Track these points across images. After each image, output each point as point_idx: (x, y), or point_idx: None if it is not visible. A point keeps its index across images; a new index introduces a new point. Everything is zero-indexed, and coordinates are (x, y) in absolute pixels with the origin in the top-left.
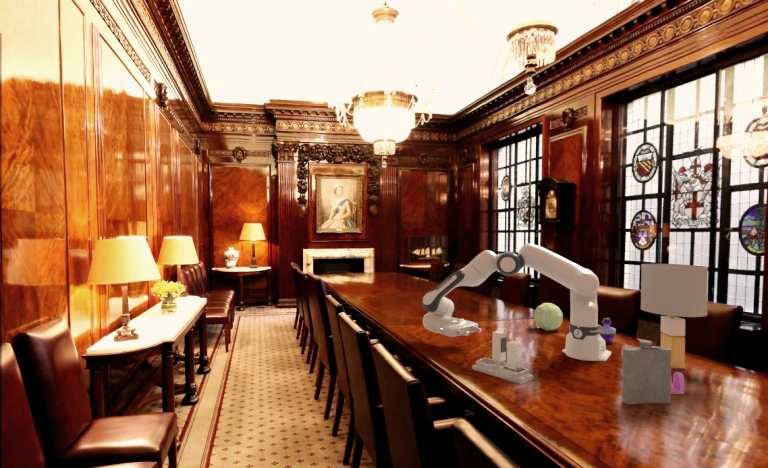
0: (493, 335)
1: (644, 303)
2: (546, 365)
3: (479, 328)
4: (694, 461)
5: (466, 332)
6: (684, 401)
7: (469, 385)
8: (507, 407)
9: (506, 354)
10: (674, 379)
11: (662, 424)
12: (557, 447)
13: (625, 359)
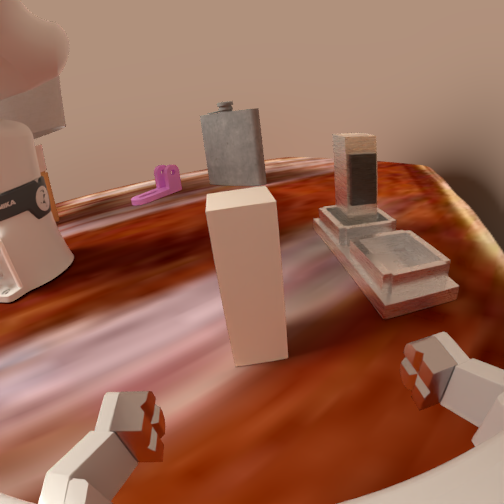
0: (276, 220)
1: (30, 120)
2: (174, 264)
3: (111, 406)
4: (332, 158)
5: (445, 334)
6: (197, 182)
7: (489, 238)
8: (443, 196)
9: (375, 176)
10: (160, 177)
11: (288, 169)
12: (427, 170)
13: (259, 121)
